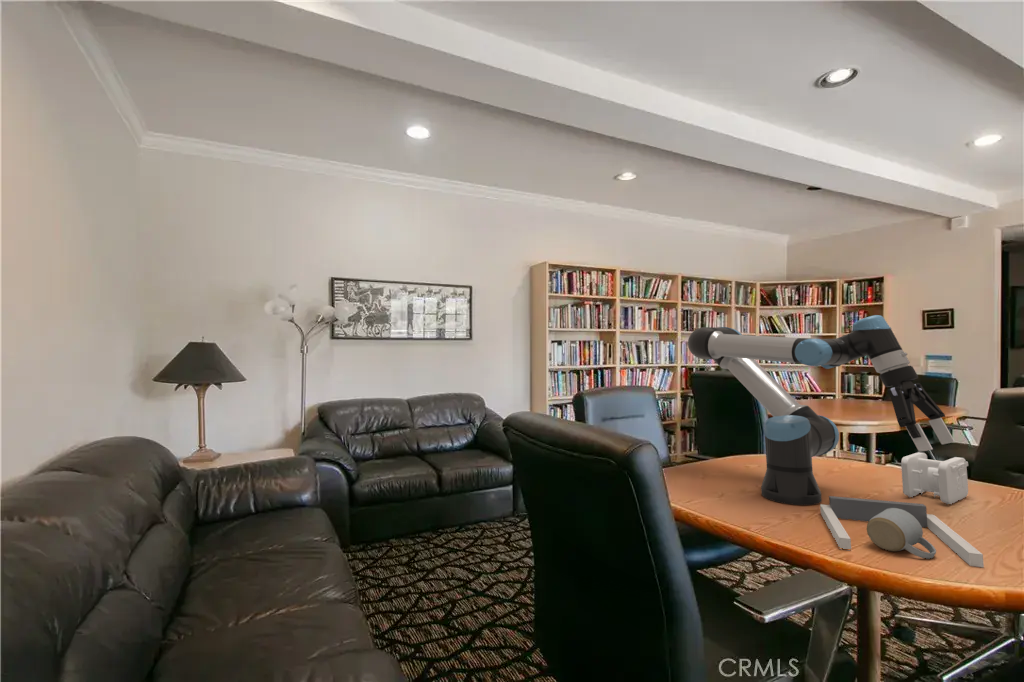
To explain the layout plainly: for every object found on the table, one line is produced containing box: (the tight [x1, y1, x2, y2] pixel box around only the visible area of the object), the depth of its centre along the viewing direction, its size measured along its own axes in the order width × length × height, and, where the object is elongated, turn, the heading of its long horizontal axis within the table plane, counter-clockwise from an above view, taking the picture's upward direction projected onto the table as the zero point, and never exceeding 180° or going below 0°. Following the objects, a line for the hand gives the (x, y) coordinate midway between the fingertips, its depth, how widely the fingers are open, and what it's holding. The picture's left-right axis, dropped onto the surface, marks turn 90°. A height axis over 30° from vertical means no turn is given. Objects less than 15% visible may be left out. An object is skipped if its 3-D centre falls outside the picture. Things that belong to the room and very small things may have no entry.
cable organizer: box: [900, 451, 969, 505], centre depth 129 cm, size 15×11×12 cm
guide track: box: [819, 495, 985, 568], centre depth 104 cm, size 23×24×5 cm
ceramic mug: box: [866, 508, 937, 560], centre depth 97 cm, size 11×8×8 cm
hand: (937, 447), depth 116 cm, fingers open, 13 cm apart
